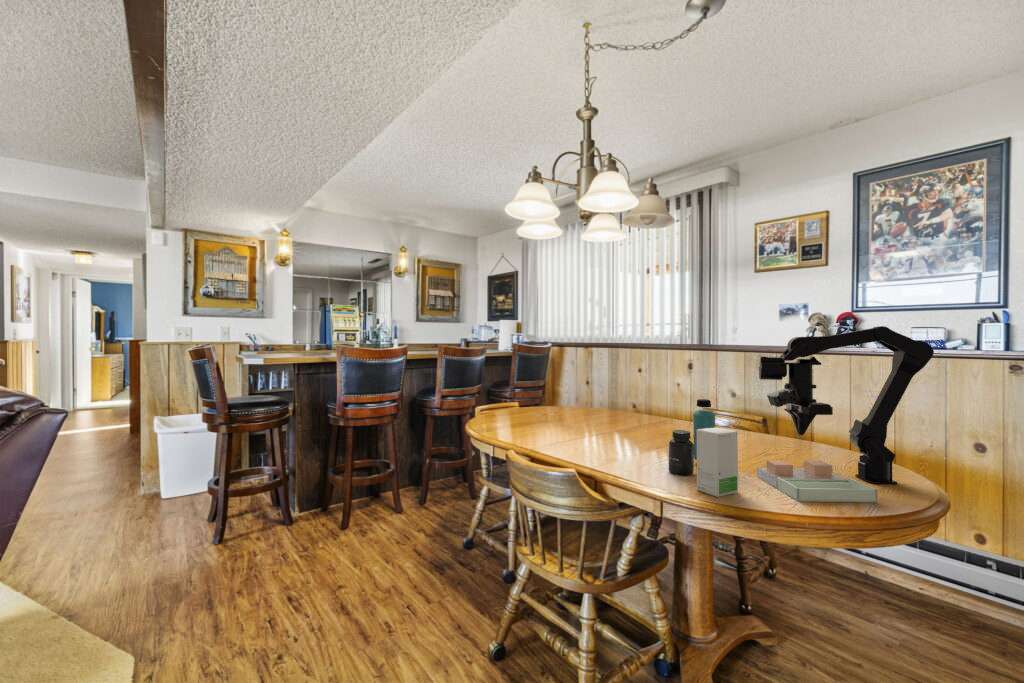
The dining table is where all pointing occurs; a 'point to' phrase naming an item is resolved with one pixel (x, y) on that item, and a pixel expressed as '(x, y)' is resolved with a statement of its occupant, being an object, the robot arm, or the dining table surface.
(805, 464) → the tile
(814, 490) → the tray
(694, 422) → the beverage bottle
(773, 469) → the tile
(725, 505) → the dining table surface
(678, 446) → the supplement bottle
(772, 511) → the dining table surface
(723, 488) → the skincare box
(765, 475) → the plate
